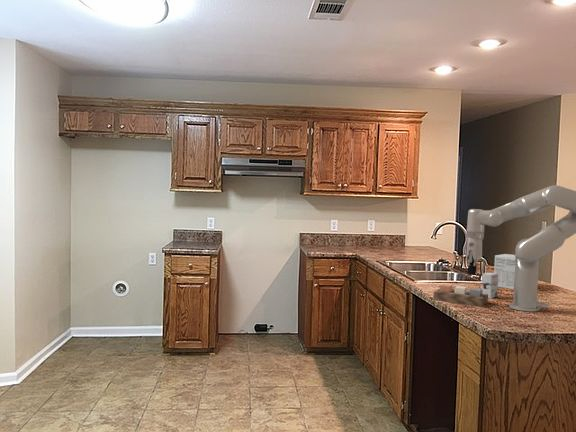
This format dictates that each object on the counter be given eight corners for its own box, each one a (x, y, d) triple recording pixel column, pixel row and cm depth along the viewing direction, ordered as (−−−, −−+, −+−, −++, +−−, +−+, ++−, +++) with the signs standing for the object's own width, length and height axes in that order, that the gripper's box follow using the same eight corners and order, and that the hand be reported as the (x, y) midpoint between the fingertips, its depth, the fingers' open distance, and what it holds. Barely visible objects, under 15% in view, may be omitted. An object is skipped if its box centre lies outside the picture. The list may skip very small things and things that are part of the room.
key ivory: (467, 295, 231) (467, 287, 231) (464, 297, 227) (464, 288, 227) (457, 294, 234) (457, 285, 234) (454, 295, 230) (454, 287, 230)
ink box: (488, 294, 248) (489, 271, 247) (497, 296, 244) (498, 273, 244) (480, 297, 242) (481, 273, 241) (490, 298, 238) (491, 275, 238)
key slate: (482, 297, 227) (482, 289, 227) (479, 299, 223) (480, 290, 223) (472, 296, 230) (472, 288, 230) (469, 297, 226) (469, 289, 226)
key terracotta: (452, 293, 235) (452, 285, 235) (449, 294, 232) (449, 286, 231) (442, 291, 238) (443, 283, 238) (439, 293, 234) (440, 285, 234)
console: (487, 302, 229) (488, 294, 229) (481, 307, 219) (481, 298, 219) (441, 295, 242) (442, 287, 242) (433, 299, 232) (433, 291, 232)
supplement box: (516, 290, 262) (518, 258, 261) (492, 286, 272) (494, 255, 271) (527, 287, 271) (528, 256, 270) (503, 283, 281) (505, 253, 280)
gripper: (479, 237, 218) (475, 277, 219) (487, 235, 230) (484, 273, 231) (462, 235, 222) (459, 275, 223) (471, 233, 234) (468, 271, 235)
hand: (471, 274), depth 227 cm, fingers closed
